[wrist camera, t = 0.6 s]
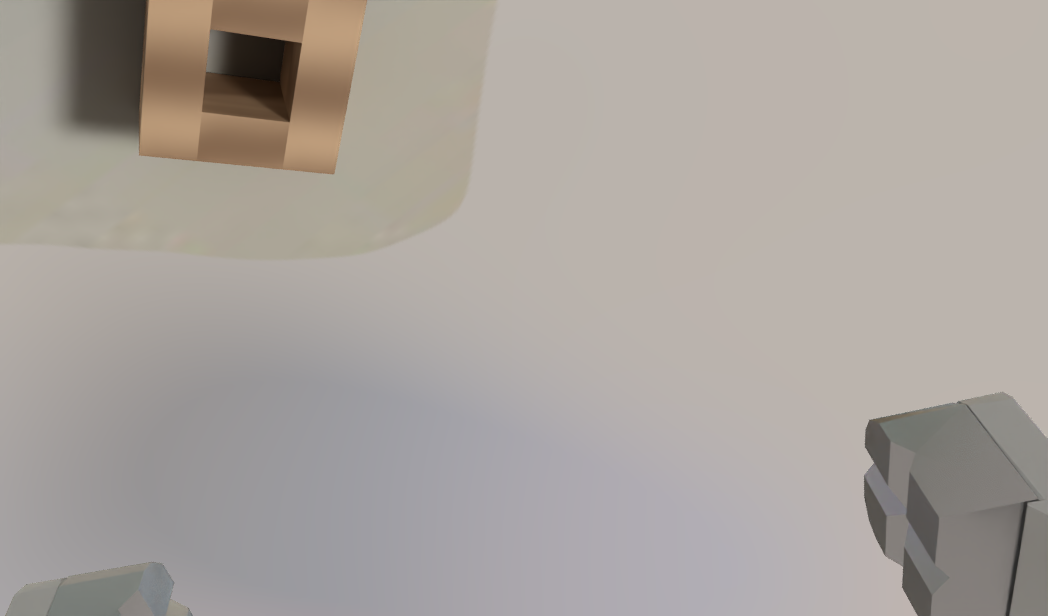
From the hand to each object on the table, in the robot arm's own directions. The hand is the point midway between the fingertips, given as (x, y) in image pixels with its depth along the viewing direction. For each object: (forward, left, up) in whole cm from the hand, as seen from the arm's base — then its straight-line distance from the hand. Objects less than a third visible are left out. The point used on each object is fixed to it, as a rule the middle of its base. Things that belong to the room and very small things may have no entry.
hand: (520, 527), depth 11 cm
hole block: (+12, +2, -45) cm, 47 cm away
